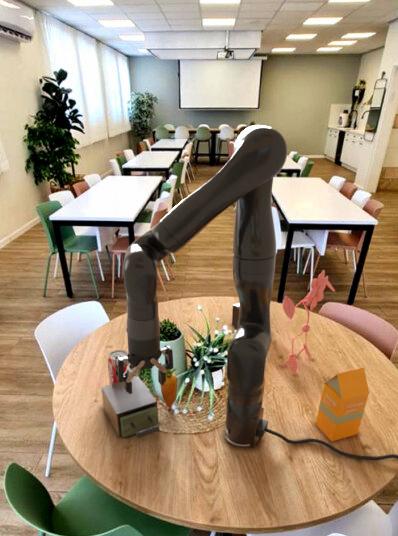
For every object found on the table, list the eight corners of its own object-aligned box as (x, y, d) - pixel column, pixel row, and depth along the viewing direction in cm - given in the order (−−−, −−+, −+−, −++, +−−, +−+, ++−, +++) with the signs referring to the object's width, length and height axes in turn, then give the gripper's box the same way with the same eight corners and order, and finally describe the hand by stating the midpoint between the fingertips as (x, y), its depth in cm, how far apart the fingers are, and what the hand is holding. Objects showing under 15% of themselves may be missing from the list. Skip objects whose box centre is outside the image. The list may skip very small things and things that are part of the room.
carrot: (169, 399, 127) (168, 358, 119) (181, 406, 124) (180, 364, 117) (157, 407, 124) (156, 365, 116) (170, 414, 121) (168, 372, 113)
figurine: (267, 375, 139) (279, 277, 121) (305, 347, 156) (321, 257, 138) (307, 394, 131) (327, 292, 112) (343, 362, 147) (365, 268, 129)
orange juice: (315, 423, 119) (327, 365, 108) (340, 417, 121) (354, 360, 111) (331, 441, 112) (346, 382, 102) (358, 434, 115) (374, 375, 105)
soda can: (128, 394, 129) (125, 362, 123) (106, 391, 130) (102, 359, 124) (135, 381, 135) (133, 350, 129) (115, 378, 136) (111, 347, 130)
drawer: (167, 438, 111) (166, 420, 108) (131, 451, 107) (129, 433, 104) (141, 401, 125) (140, 384, 122) (108, 411, 121) (106, 394, 117)
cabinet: (158, 423, 118) (157, 401, 113) (119, 437, 113) (116, 414, 108) (140, 398, 128) (138, 376, 123) (104, 409, 123) (101, 387, 119)
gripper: (119, 345, 89) (123, 403, 98) (178, 332, 95) (177, 388, 104) (108, 330, 95) (113, 386, 103) (165, 318, 101) (165, 373, 109)
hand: (145, 387), depth 104 cm, fingers open, 8 cm apart
